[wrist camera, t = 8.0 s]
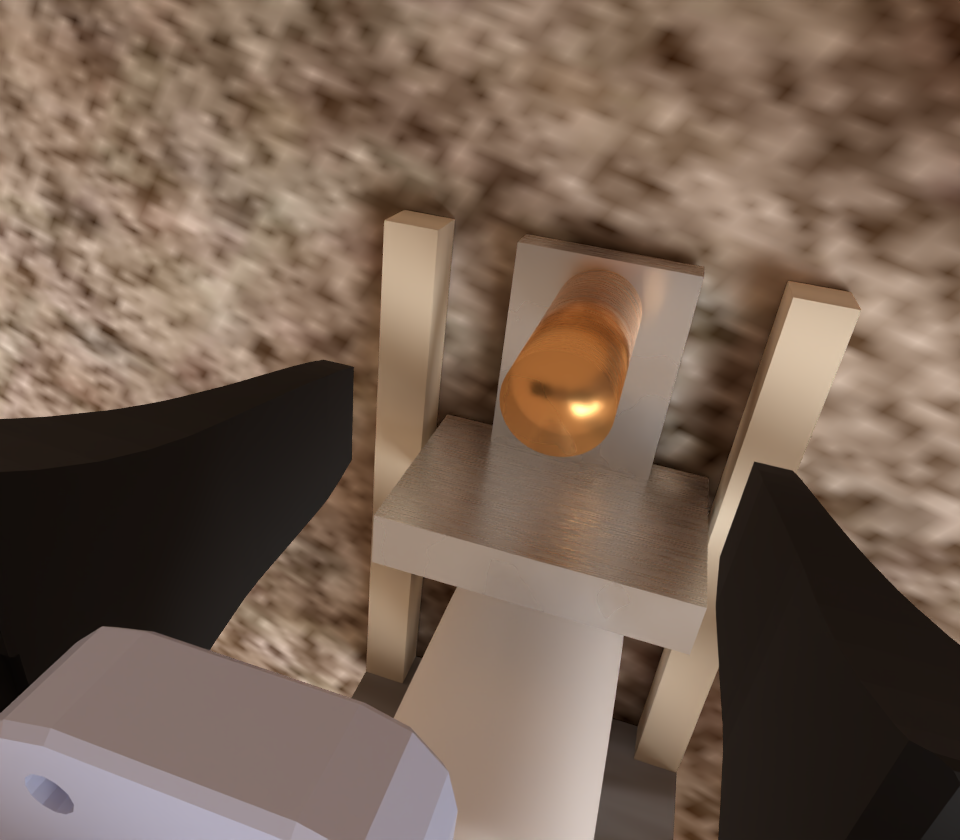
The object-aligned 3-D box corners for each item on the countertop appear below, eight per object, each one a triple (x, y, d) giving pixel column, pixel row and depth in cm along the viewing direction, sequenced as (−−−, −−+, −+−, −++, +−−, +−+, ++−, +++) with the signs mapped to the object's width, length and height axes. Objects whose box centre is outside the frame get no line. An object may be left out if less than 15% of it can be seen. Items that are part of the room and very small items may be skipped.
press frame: (404, 209, 21) (281, 273, 15) (851, 292, 18) (916, 407, 12) (379, 670, 31) (299, 819, 25) (668, 764, 28) (656, 954, 22)
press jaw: (465, 223, 20) (363, 294, 14) (772, 279, 19) (800, 387, 13) (443, 454, 24) (356, 585, 18) (695, 518, 23) (688, 686, 17)
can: (425, 582, 28) (257, 894, 17) (552, 514, 24) (437, 847, 14) (527, 694, 29) (426, 1047, 19) (661, 642, 26) (627, 1035, 15)
